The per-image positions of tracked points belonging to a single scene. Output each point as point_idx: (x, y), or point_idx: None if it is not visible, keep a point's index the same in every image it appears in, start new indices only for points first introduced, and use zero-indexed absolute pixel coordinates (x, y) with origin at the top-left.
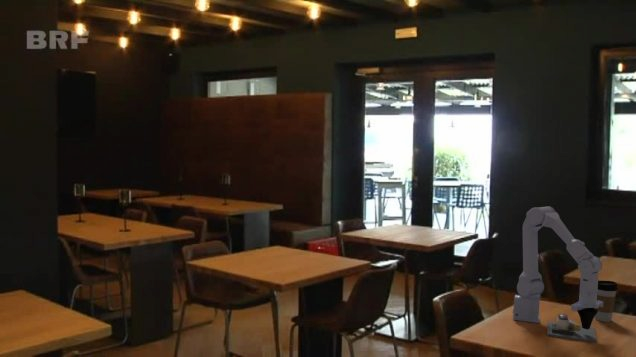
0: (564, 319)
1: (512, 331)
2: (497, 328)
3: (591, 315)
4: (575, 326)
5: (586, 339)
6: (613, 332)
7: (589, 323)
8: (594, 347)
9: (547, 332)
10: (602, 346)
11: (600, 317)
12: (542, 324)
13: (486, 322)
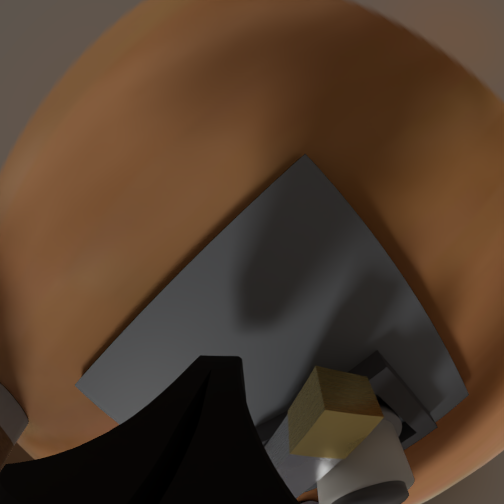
0: (398, 485)
1: (487, 432)
2: (483, 451)
3: (175, 499)
4: (374, 406)
5: (368, 228)
6: (12, 296)
7: (207, 395)
8: (406, 97)
9: (448, 411)
10: (319, 78)
11: (11, 411)
12: (304, 493)
13: (448, 486)
